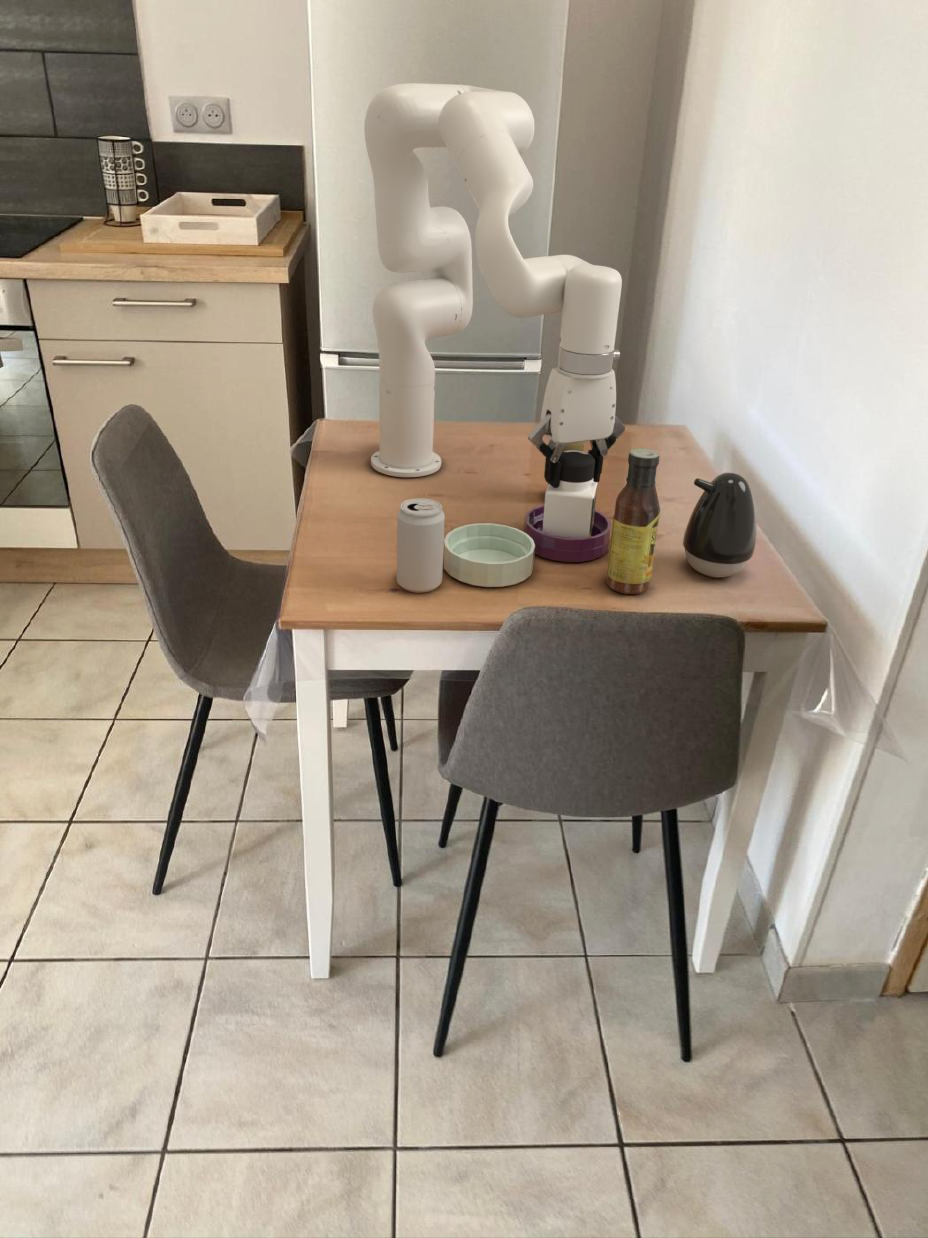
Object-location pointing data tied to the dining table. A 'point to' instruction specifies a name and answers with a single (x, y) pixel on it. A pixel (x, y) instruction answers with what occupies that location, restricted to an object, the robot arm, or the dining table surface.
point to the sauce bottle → (635, 526)
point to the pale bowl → (488, 554)
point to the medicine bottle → (571, 498)
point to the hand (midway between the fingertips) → (572, 480)
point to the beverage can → (420, 544)
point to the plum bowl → (568, 539)
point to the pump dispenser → (721, 526)
